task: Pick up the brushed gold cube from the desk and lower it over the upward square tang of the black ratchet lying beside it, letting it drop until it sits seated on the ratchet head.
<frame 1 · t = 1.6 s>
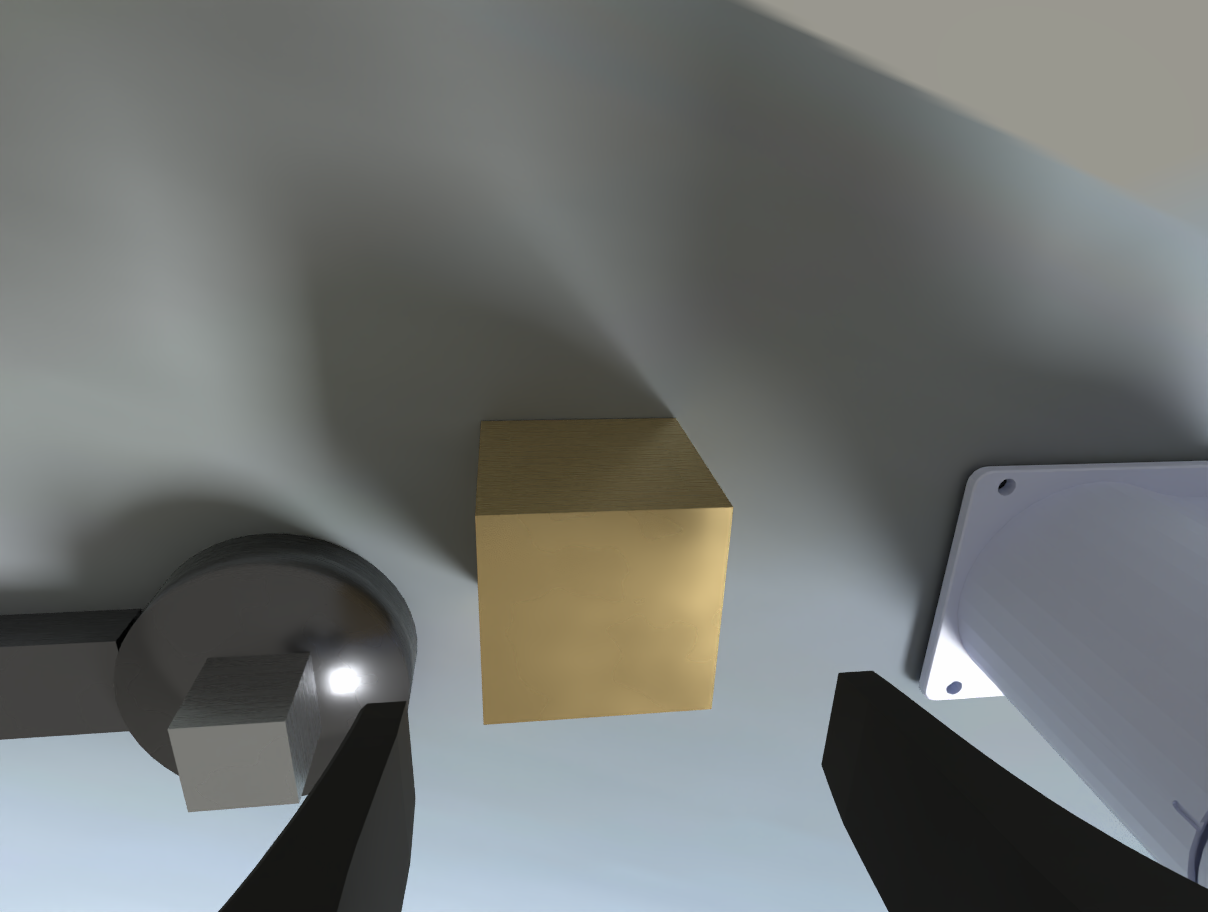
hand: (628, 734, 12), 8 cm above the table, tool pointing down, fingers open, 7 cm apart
ratchet: (287, 645, 21), on the table
brushed gold cube: (578, 507, 20), on the table
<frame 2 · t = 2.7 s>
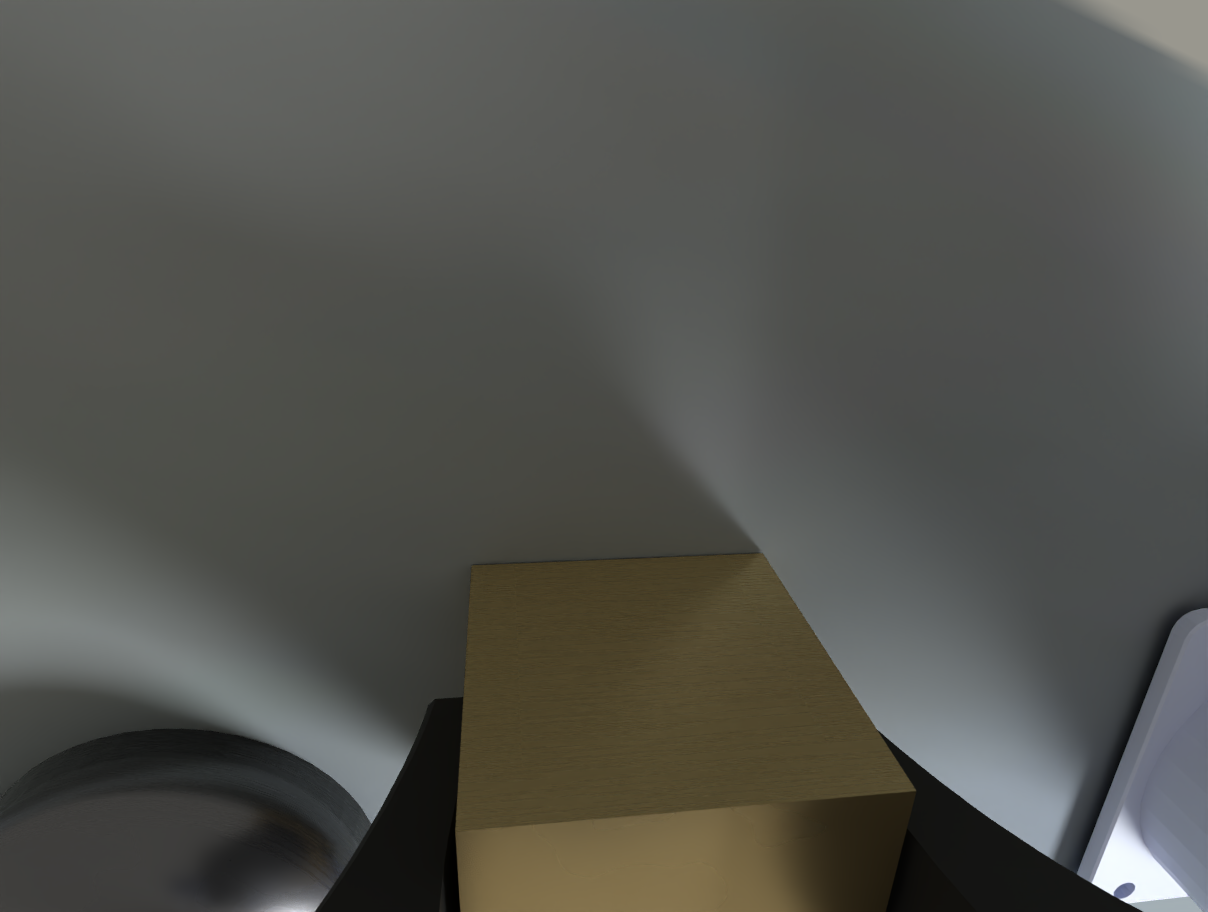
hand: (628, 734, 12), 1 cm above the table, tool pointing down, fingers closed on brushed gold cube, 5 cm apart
ratchet: (191, 872, 14), on the table
brushed gold cube: (615, 678, 14), on the table, touching gripper
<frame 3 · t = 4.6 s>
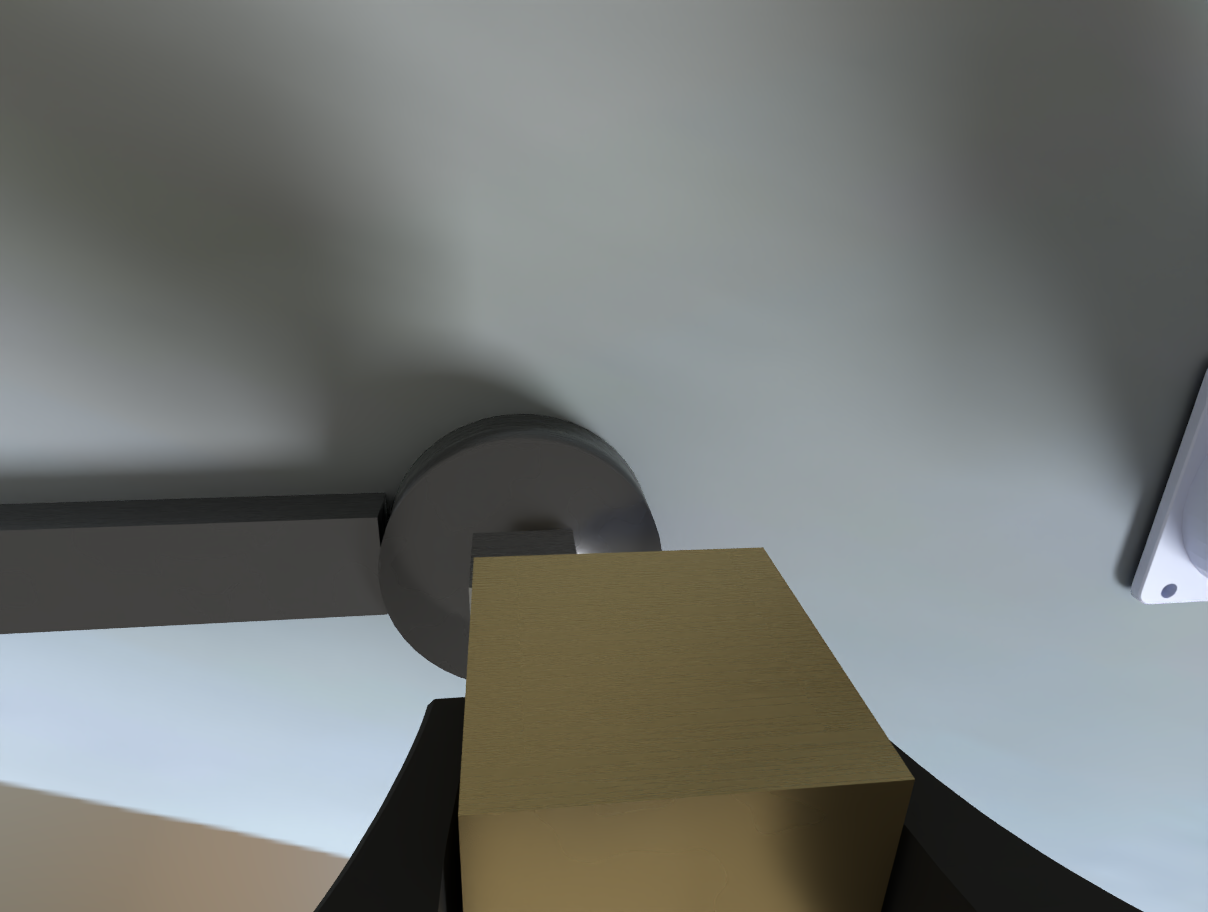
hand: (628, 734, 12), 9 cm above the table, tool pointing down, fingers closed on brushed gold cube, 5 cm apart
ratchet: (521, 534, 20), on the table
brushed gold cube: (616, 671, 14), point 7 cm above the table, touching gripper
when the fingers open (4 cm above the table, at t = 6.4 s): brushed gold cube stays where it is, resting on ratchet.
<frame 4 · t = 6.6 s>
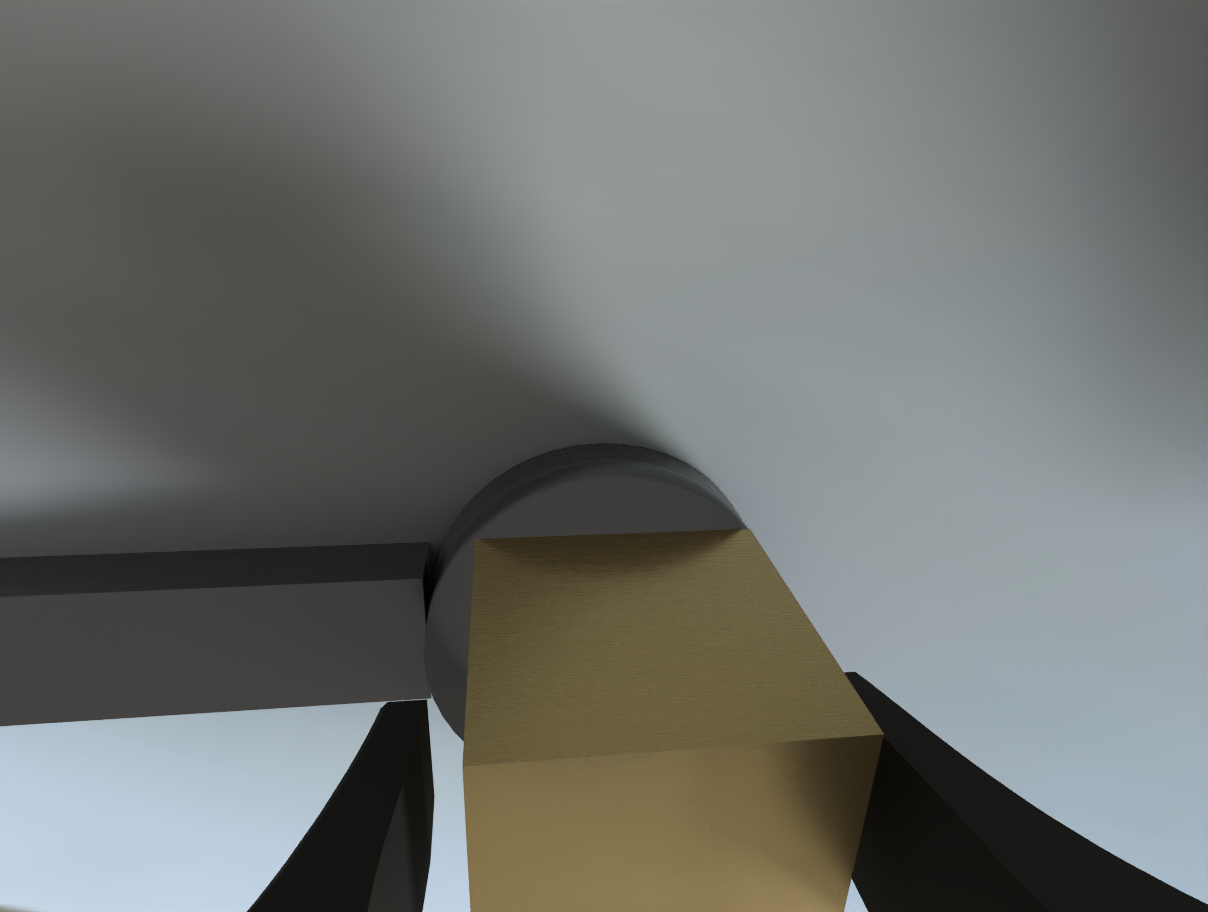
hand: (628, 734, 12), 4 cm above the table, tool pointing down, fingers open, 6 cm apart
ratchet: (596, 592, 16), on the table, touching brushed gold cube
brushed gold cube: (611, 648, 14), point 2 cm above the table, touching ratchet
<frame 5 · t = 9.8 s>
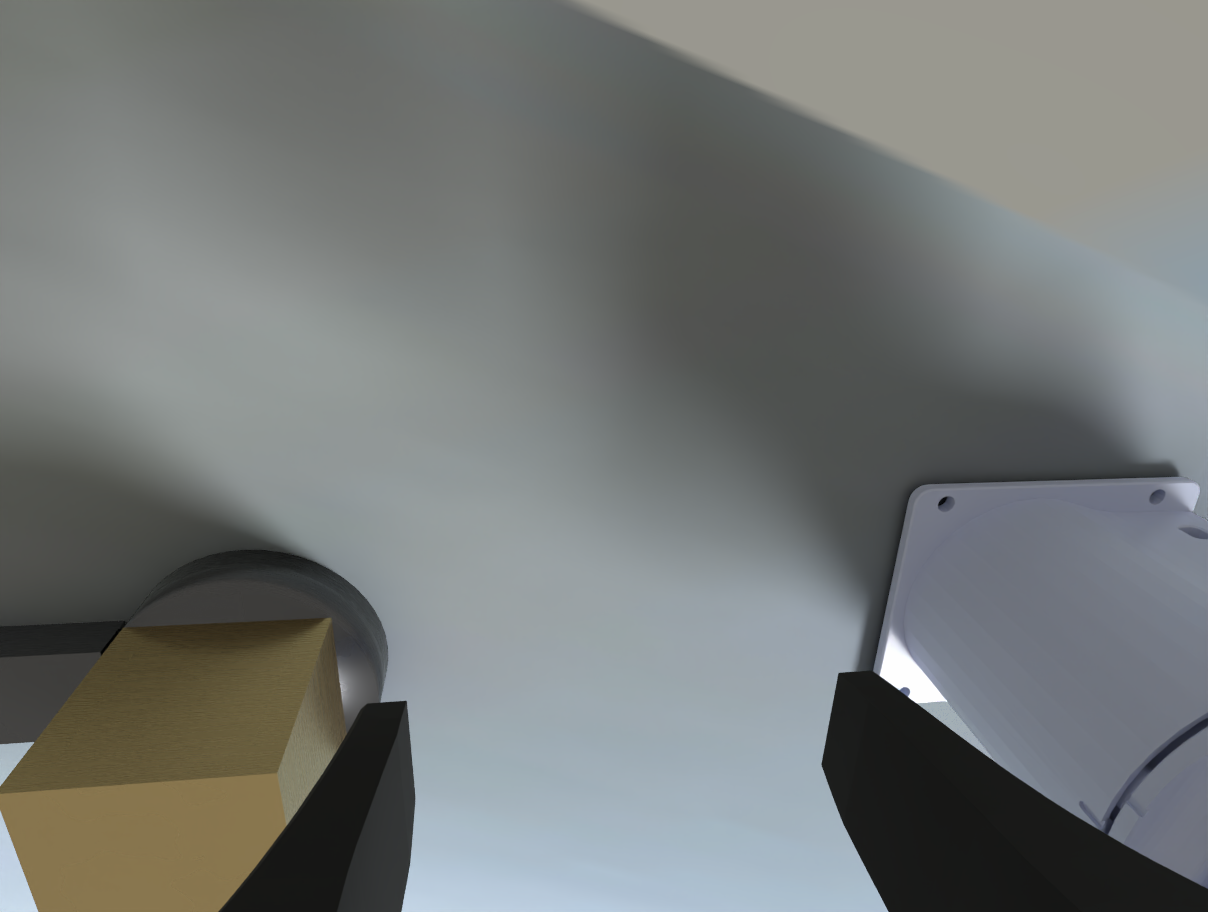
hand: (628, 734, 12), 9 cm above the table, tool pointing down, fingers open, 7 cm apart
ratchet: (264, 654, 22), on the table, touching brushed gold cube
brushed gold cube: (244, 700, 20), point 2 cm above the table, touching ratchet
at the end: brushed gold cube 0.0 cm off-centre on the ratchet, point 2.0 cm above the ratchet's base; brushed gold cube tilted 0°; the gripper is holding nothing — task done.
